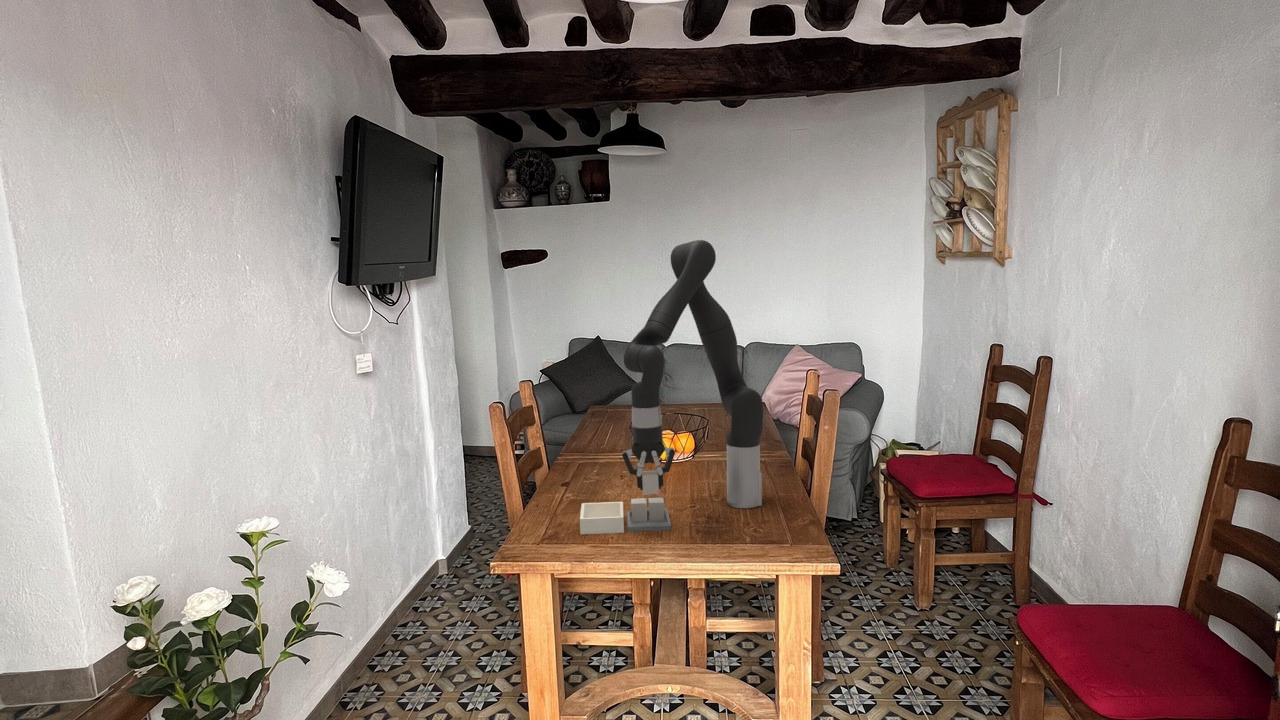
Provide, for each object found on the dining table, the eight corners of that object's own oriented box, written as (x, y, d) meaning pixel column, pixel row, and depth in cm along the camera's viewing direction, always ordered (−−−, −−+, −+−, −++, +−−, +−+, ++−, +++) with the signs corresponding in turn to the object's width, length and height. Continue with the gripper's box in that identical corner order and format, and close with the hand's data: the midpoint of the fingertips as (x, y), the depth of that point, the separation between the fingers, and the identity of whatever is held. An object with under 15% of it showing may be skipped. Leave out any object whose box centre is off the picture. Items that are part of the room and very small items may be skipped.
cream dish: (623, 518, 193) (622, 501, 193) (624, 534, 181) (623, 517, 181) (582, 519, 193) (581, 503, 192) (580, 536, 181) (579, 519, 180)
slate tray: (667, 515, 194) (667, 509, 194) (671, 532, 182) (671, 525, 182) (627, 517, 194) (626, 510, 194) (627, 533, 182) (627, 527, 182)
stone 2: (657, 488, 186) (656, 470, 185) (658, 493, 182) (658, 474, 181) (642, 489, 186) (641, 471, 185) (643, 494, 182) (642, 475, 181)
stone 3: (663, 515, 193) (663, 497, 192) (664, 520, 189) (664, 502, 188) (648, 516, 193) (648, 498, 192) (649, 521, 189) (648, 503, 188)
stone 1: (646, 516, 193) (645, 498, 192) (647, 521, 189) (646, 503, 188) (631, 516, 193) (631, 498, 192) (631, 522, 189) (631, 503, 188)
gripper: (673, 418, 186) (676, 482, 188) (618, 421, 185) (622, 486, 187) (676, 424, 178) (679, 491, 181) (619, 428, 177) (623, 495, 180)
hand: (650, 488), depth 184 cm, fingers closed on stone 2, 4 cm apart
